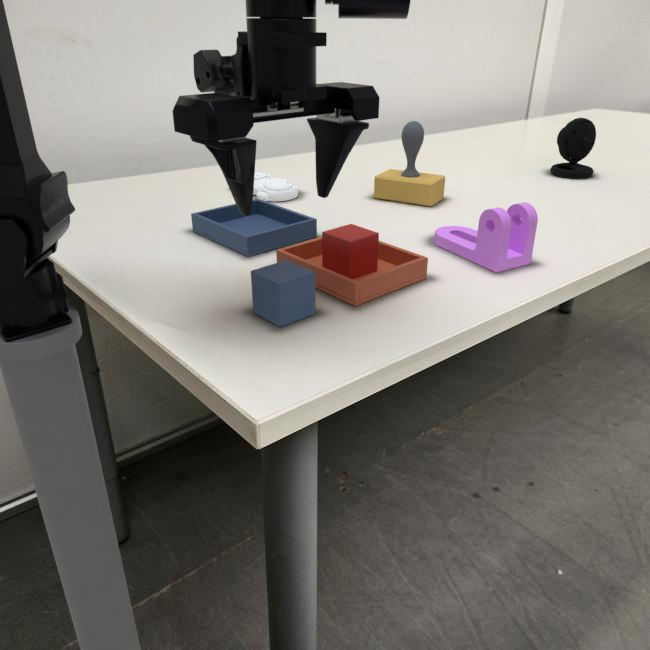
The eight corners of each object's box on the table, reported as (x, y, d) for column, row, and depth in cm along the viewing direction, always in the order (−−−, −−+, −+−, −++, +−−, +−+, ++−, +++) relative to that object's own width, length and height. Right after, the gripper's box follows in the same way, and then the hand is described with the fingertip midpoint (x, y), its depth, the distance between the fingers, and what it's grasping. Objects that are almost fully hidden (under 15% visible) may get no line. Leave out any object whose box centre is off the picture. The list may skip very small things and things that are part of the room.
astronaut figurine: (269, 182, 108) (269, 164, 107) (308, 196, 99) (308, 178, 98) (225, 189, 103) (224, 171, 102) (262, 205, 95) (261, 186, 93)
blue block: (280, 327, 58) (278, 284, 56) (252, 312, 61) (250, 270, 59) (315, 313, 61) (315, 272, 59) (287, 299, 64) (286, 259, 62)
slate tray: (248, 256, 75) (246, 237, 74) (192, 231, 84) (190, 213, 83) (317, 237, 82) (316, 218, 80) (258, 215, 90) (258, 198, 89)
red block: (349, 280, 67) (349, 241, 65) (322, 269, 70) (321, 231, 68) (377, 270, 70) (379, 232, 68) (350, 260, 73) (351, 223, 71)
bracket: (530, 263, 73) (540, 206, 70) (496, 272, 70) (504, 214, 67) (457, 233, 83) (463, 182, 80) (425, 240, 80) (429, 187, 77)
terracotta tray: (355, 306, 62) (355, 283, 61) (276, 270, 71) (275, 249, 70) (426, 278, 69) (428, 257, 68) (346, 248, 78) (347, 229, 77)
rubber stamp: (444, 198, 98) (450, 120, 93) (431, 207, 94) (437, 126, 89) (388, 190, 103) (391, 116, 97) (372, 198, 98) (375, 121, 93)
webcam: (571, 167, 118) (581, 113, 113) (602, 176, 112) (614, 119, 107) (540, 172, 115) (549, 116, 110) (570, 180, 109) (581, 122, 104)
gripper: (305, 17, 61) (306, 174, 68) (129, 17, 50) (152, 205, 57) (387, 18, 53) (378, 195, 60) (202, 19, 42) (219, 235, 49)
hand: (285, 205), depth 57 cm, fingers open, 9 cm apart
